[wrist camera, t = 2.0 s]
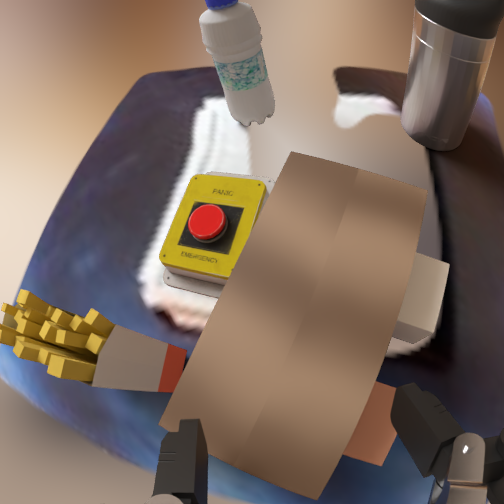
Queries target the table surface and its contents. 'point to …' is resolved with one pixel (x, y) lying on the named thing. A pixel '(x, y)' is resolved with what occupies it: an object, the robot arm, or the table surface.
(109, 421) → the table surface
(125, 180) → the table surface
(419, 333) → the ivory key
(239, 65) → the bottle
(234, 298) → the key panel
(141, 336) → the french fries container
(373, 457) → the terracotta key
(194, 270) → the emergency button
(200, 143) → the table surface
